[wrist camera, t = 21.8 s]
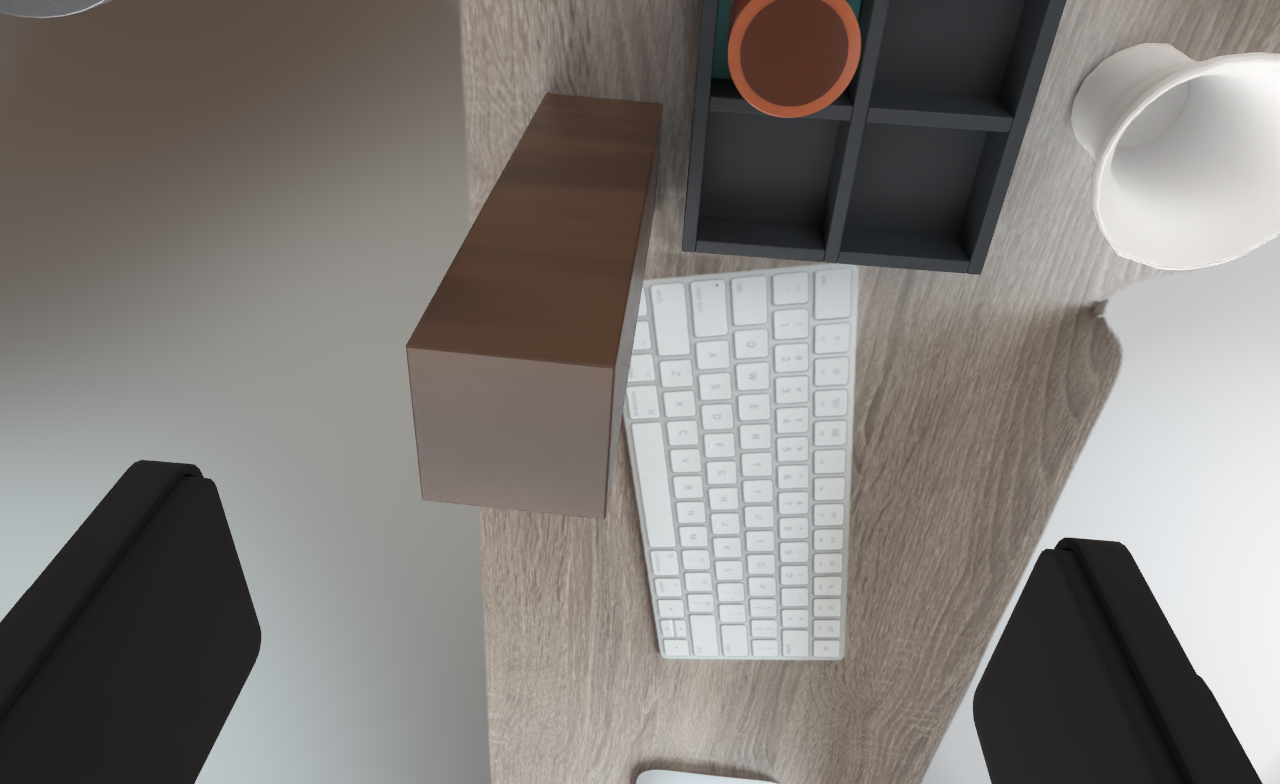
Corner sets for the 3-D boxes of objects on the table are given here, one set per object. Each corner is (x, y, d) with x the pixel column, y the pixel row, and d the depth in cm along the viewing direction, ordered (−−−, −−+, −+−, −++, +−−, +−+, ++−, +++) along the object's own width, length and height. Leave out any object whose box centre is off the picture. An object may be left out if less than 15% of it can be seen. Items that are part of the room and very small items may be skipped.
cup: (1275, 44, 40) (1416, 112, 32) (1129, 212, 45) (1218, 308, 37) (1121, -46, 38) (1227, 2, 30) (988, 139, 43) (1048, 223, 35)
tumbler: (706, -10, 40) (703, 29, 34) (809, -77, 38) (826, -48, 32) (759, 88, 42) (765, 142, 36) (858, 30, 40) (883, 76, 34)
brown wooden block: (545, 92, 44) (404, 345, 24) (663, 103, 44) (615, 366, 24) (545, 202, 47) (421, 500, 28) (653, 213, 47) (605, 520, 28)
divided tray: (684, 222, 47) (681, 251, 44) (710, -95, 38) (709, -84, 36) (964, 244, 47) (981, 275, 44) (1057, -73, 38) (1085, -61, 35)
